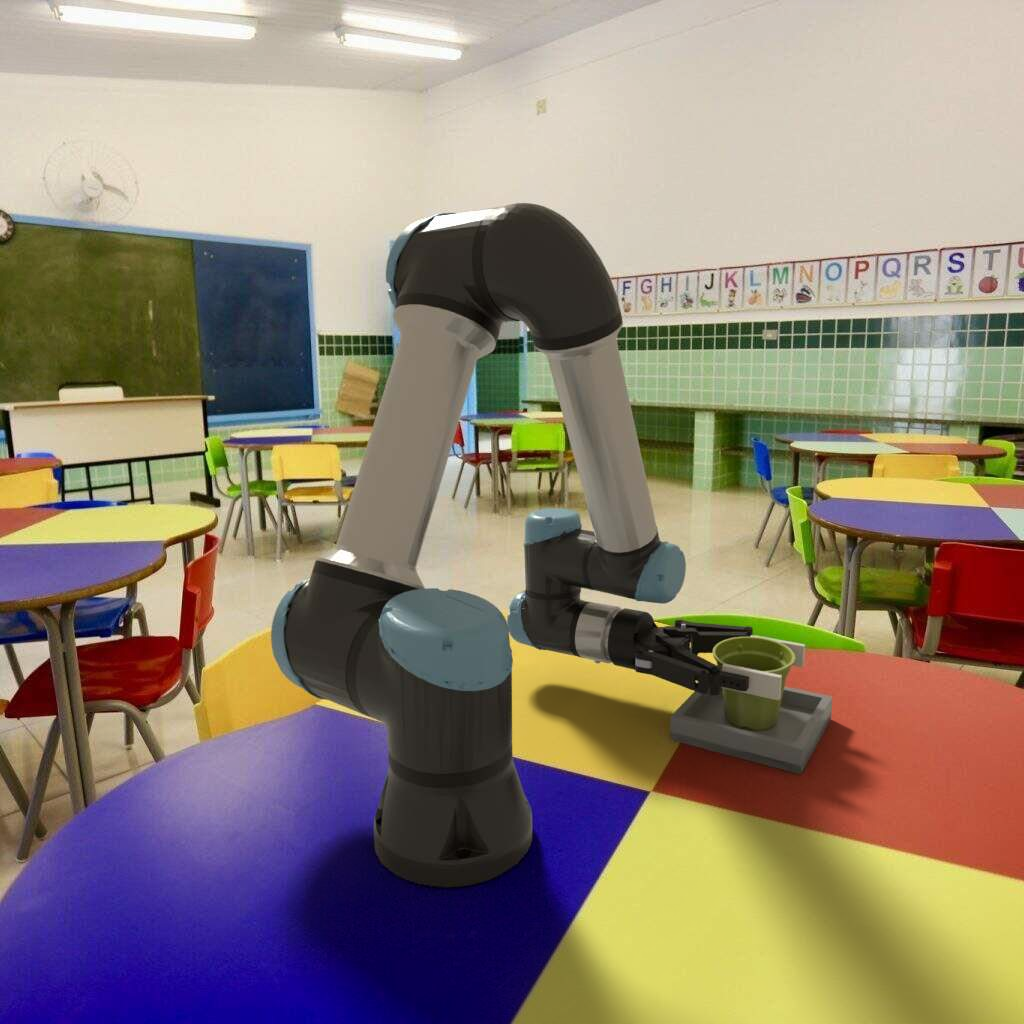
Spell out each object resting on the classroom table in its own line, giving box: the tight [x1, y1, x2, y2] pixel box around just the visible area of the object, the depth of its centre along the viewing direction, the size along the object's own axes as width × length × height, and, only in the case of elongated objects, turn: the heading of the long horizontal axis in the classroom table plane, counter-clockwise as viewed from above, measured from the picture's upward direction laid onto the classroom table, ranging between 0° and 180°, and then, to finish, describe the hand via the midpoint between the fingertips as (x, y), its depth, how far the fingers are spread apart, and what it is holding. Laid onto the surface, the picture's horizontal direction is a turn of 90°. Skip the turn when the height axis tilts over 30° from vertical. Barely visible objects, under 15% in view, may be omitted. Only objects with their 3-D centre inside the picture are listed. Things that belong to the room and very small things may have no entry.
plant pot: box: [712, 636, 795, 730], centre depth 97 cm, size 9×9×9 cm
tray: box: [669, 686, 833, 775], centre depth 97 cm, size 15×15×3 cm
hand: (792, 671), depth 93 cm, fingers open, 10 cm apart
